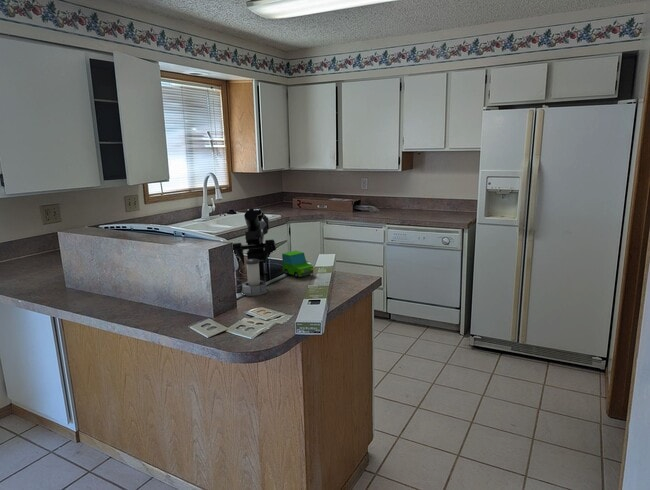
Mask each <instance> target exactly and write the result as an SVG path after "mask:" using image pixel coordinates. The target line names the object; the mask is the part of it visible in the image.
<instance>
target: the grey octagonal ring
mask: <svg viewBox="0 0 650 490" xmlns="http://www.w3.org/2000/svg"><path fill="white" fill-rule="evenodd" d="M241 286H242V289H241V292H240V293H243V294H245V295H246V296H245V295H244V296H245V297H258V296H263V295H266V294H267V293H268V292H269V289H268V288H267V282H266V280H265V281H264V280H261V279H260V285H259V286H248V280H247V281H245V282H242V283H241Z"/></svg>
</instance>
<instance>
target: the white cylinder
mask: <svg viewBox="0 0 650 490" xmlns="http://www.w3.org/2000/svg"><path fill="white" fill-rule="evenodd" d="M245 264H246V272H247V273H246V274H247V276H246V277H247V281H248V286H259V285H260V280H261V277H260V273H259V259H248V258H247V259H246V260H245Z"/></svg>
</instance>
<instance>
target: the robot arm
mask: <svg viewBox="0 0 650 490" xmlns="http://www.w3.org/2000/svg"><path fill="white" fill-rule="evenodd" d="M243 216H244V220H245V224H246V226H247V231H245V232H244V235H245V243H246V244H244V245H243V244H242V242H233V243H232V244H233V250H234V252H233V254H234V255H236V256H239V257H240V261H241V263H242V265H243V266H245V254H244V251H245V250H247V251H246V256H247V257H246V258H247V260H248V259H259V273H260V278H261V277H262V276H265V275H267V274H268V271H266V269H265V266H266V265H265V264H266V263H268V262H269V257H270V256H271V253H274V252H275V251H277V245H276V241H275V240H274V239H265V242H264V238H265V235H266V234H268V232H269V230H270V220H269V218H268V216H267V215H266V214H265V211H263V210H262V209H261V208H254V207H253V208H252V207H250V208H248V209H247V210H246V211H245V212H244V215H243ZM233 250H232V251H233Z"/></svg>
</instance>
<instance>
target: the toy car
mask: <svg viewBox="0 0 650 490" xmlns="http://www.w3.org/2000/svg"><path fill="white" fill-rule="evenodd" d="M281 255H282V259H281V261H282V271H283V273H284V274H285V275H286V274H287V275H286V276H289V275H293V276H294V278H296V279H299V278H301V277H304V276H310V275H312V274H314V265H312V264H310V263H308V261H307V260H306V256H305V252H303V251H300V250H291V251H288V252H283V253H282V254H281Z"/></svg>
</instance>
